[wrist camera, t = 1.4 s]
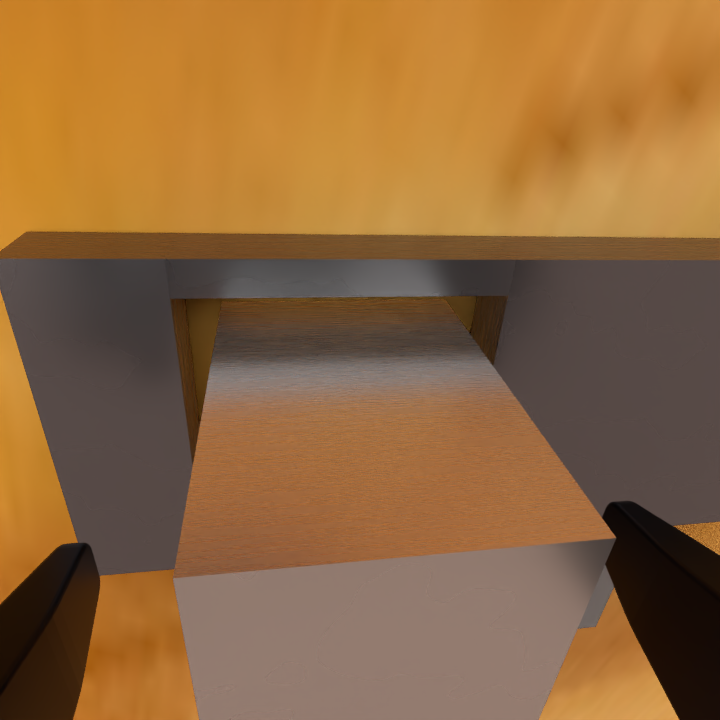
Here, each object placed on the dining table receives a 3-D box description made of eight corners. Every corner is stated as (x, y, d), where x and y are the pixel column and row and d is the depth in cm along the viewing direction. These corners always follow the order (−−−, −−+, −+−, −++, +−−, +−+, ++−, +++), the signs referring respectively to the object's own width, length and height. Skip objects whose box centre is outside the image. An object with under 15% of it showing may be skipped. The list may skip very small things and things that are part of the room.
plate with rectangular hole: (828, 239, 13) (890, 260, 12) (703, 484, 17) (738, 519, 16) (25, 231, 10) (-9, 258, 9) (104, 528, 14) (88, 576, 13)
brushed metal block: (444, 298, 12) (616, 538, 6) (420, 464, 15) (525, 748, 9) (221, 300, 11) (172, 578, 5) (236, 475, 14) (214, 797, 8)
